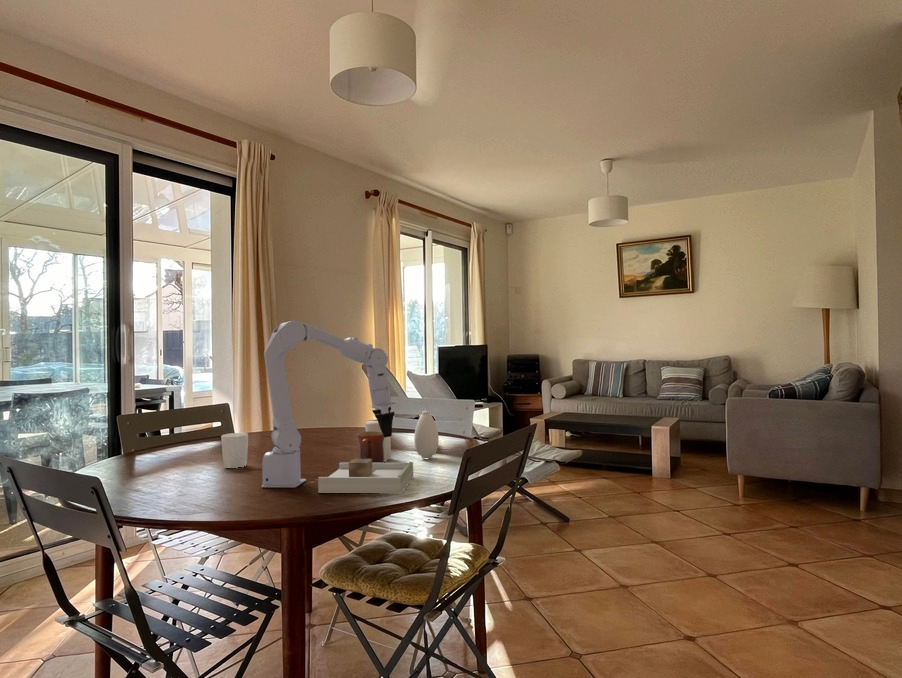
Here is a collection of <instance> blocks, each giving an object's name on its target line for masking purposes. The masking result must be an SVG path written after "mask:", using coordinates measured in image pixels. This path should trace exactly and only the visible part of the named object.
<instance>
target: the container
mask: <svg viewBox="0 0 902 678" xmlns="http://www.w3.org/2000/svg"><path fill="white" fill-rule="evenodd" d="M364 425H365V427H364V430H365V431H364V432H369V431H381V429H380V426H379V423H378V420H377V419H370V420H367V421H365V423H364ZM391 446H392V445H391V436H390V437H385V438H384V443H383V447H384V462H385V463H387V462H388V461H389V460H390V459H391V458H392V453H391V451H392V449H391ZM388 459H389V460H388ZM387 460H388V461H387Z"/></svg>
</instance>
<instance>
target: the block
mask: <svg viewBox="0 0 902 678" xmlns="http://www.w3.org/2000/svg"><path fill="white" fill-rule="evenodd" d="M348 463H349V477H369V476H370V475H371V474H372V459H360V458H353V459H352V460H350V461H349V462H348Z"/></svg>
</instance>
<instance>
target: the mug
mask: <svg viewBox="0 0 902 678" xmlns="http://www.w3.org/2000/svg"><path fill="white" fill-rule="evenodd" d="M356 437H357V440H358V445H359V446H358V447H359V450H358V451H359V455H358V456H359V459H372V463H384V447H383V443H384V438H385V437H384V435H383V433H382V432H381V431H369V432H365V431H362V432H359V433H356Z"/></svg>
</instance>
